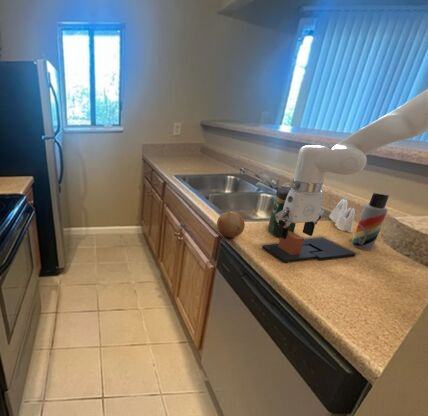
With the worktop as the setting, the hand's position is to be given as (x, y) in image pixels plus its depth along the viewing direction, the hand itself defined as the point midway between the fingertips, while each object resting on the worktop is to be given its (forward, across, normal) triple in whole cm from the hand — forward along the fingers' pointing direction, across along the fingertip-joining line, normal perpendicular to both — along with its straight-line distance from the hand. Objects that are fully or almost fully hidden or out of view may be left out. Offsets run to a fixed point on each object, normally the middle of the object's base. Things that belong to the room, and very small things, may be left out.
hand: (294, 235), depth 91 cm
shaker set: (+8, +38, +16) cm, 41 cm away
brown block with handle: (+7, +1, +1) cm, 7 cm away
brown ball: (+7, -12, +16) cm, 22 cm away
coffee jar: (+7, +9, +14) cm, 18 cm away
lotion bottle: (+8, +29, 0) cm, 30 cm away
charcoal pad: (+7, +13, 0) cm, 15 cm away
